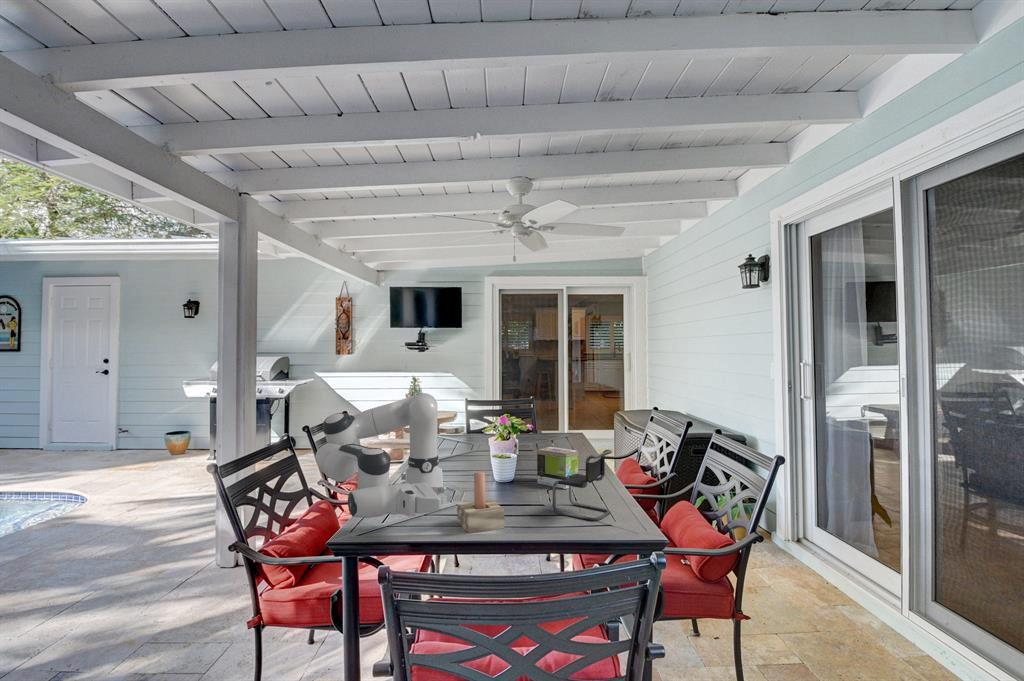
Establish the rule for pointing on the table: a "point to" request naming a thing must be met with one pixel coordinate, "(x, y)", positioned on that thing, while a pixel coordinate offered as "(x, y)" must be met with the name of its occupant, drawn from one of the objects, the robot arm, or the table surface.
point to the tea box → (556, 465)
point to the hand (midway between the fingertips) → (447, 493)
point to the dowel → (479, 490)
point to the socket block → (480, 516)
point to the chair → (584, 485)
